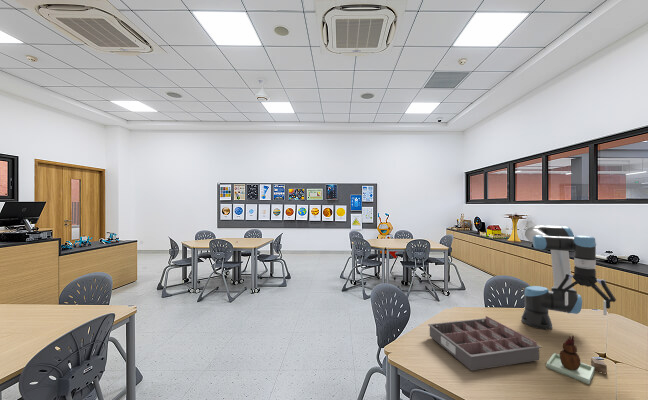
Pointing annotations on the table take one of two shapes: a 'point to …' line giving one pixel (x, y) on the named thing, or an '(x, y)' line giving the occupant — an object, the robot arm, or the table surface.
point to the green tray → (581, 374)
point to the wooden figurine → (570, 355)
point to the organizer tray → (484, 343)
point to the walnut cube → (599, 365)
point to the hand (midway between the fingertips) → (585, 309)
